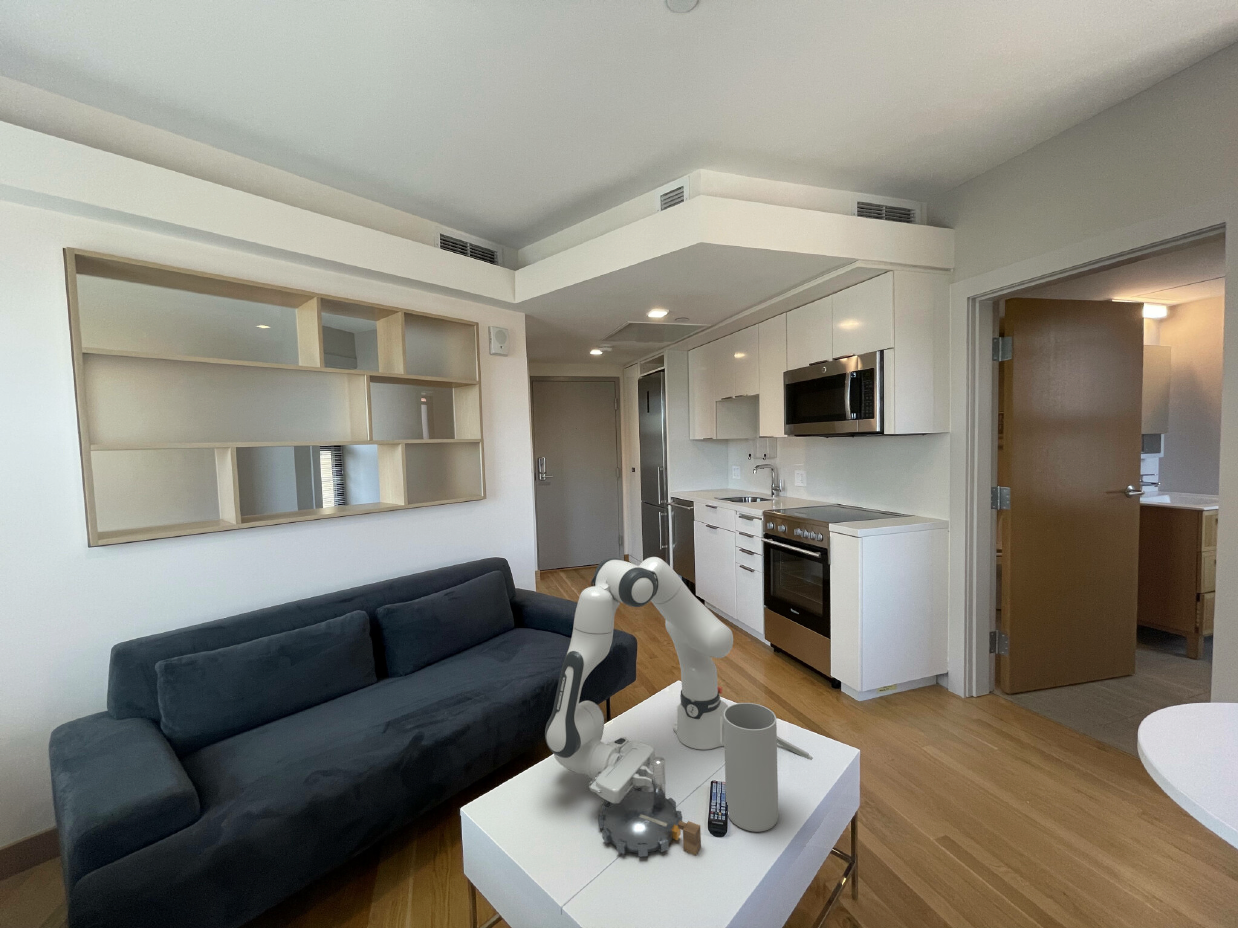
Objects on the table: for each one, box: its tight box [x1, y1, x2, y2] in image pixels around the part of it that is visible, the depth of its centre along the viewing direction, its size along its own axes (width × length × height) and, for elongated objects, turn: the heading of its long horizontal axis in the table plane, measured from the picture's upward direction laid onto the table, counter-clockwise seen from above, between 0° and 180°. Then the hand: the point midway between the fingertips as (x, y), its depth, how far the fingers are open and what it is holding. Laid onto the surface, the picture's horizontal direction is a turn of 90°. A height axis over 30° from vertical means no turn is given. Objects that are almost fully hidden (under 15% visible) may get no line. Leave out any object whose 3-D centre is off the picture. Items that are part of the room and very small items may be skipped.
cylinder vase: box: [723, 702, 779, 833], centre depth 127 cm, size 12×12×25 cm
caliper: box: [777, 736, 814, 761], centre depth 155 cm, size 20×1×6 cm, turn 51°
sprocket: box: [598, 756, 683, 857], centre depth 125 cm, size 20×20×13 cm
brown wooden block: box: [678, 820, 702, 856], centre depth 118 cm, size 3×5×5 cm, turn 58°
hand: (654, 780), depth 130 cm, fingers closed
